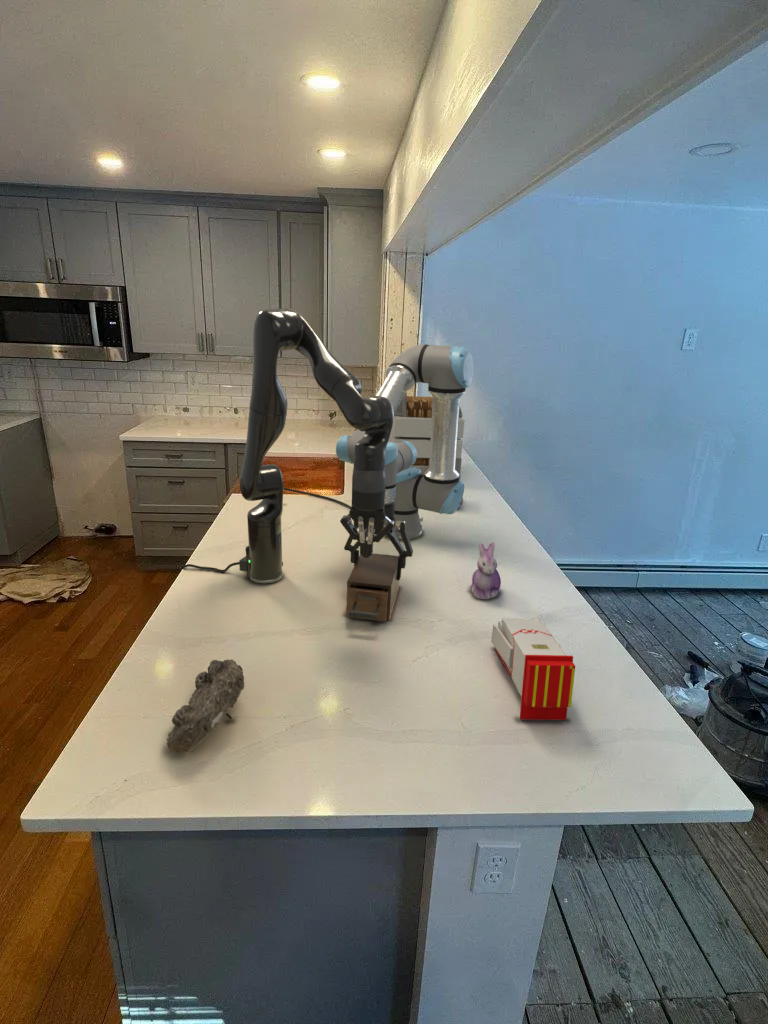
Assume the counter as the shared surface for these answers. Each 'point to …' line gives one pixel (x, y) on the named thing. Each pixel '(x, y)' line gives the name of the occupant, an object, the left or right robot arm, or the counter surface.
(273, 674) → the counter surface
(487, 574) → the figurine
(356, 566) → the cabinet
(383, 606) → the drawer
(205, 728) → the fossil
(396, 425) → the white slatted crate
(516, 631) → the toy
